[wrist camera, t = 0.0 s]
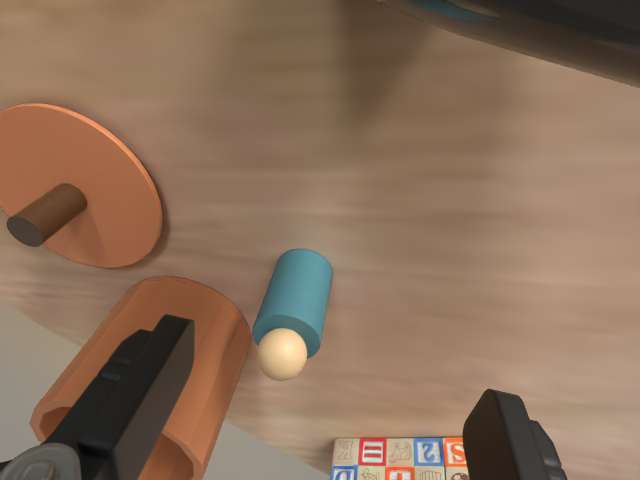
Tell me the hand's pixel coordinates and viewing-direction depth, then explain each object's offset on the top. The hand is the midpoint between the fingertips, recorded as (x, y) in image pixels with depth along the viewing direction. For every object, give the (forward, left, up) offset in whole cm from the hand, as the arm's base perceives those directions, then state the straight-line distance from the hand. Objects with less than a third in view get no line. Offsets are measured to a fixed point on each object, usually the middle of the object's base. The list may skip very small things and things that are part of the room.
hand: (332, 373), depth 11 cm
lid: (+9, -20, -17) cm, 27 cm away
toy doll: (+12, -2, -17) cm, 21 cm away
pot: (+22, -12, -17) cm, 30 cm away
